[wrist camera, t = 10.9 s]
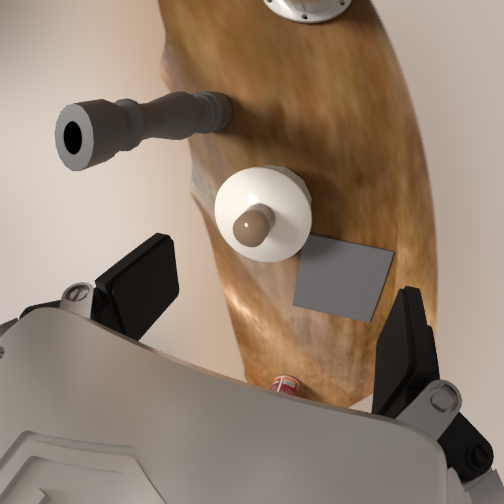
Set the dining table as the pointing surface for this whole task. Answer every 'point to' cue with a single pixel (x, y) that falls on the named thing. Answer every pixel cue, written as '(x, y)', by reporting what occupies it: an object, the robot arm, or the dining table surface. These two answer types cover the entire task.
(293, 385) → the pill bottle
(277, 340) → the dining table surface
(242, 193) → the lid
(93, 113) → the candle holder
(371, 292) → the mat
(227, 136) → the dining table surface
